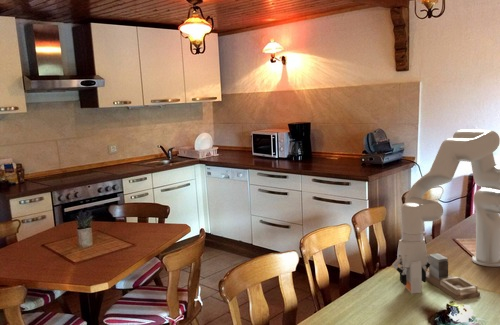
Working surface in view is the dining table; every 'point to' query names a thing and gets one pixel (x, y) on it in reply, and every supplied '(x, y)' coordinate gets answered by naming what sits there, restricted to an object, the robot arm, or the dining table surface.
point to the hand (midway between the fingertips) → (413, 281)
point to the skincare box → (414, 277)
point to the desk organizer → (449, 280)
